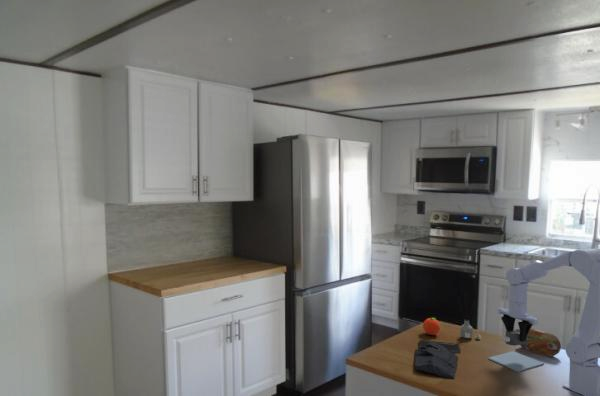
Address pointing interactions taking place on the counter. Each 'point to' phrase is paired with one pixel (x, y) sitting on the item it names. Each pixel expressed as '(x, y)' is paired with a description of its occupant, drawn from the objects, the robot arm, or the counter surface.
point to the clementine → (431, 326)
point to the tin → (542, 343)
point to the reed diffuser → (467, 323)
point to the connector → (513, 337)
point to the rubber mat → (516, 361)
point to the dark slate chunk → (436, 360)
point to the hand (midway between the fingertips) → (516, 338)
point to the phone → (449, 346)
